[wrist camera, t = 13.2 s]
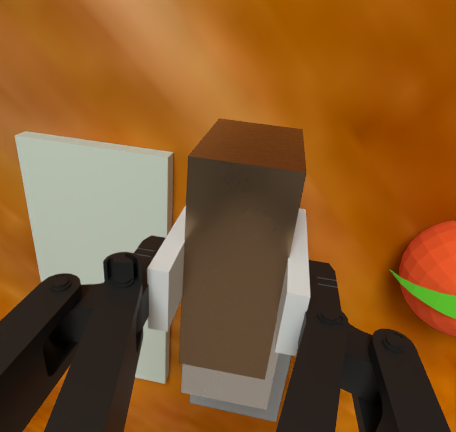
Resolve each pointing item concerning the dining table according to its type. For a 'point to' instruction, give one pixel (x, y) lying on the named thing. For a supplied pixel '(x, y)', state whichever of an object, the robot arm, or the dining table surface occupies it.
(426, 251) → the clementine
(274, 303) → the brown grey long block
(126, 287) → the robot arm
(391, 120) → the dining table surface
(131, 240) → the board
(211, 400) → the tile
